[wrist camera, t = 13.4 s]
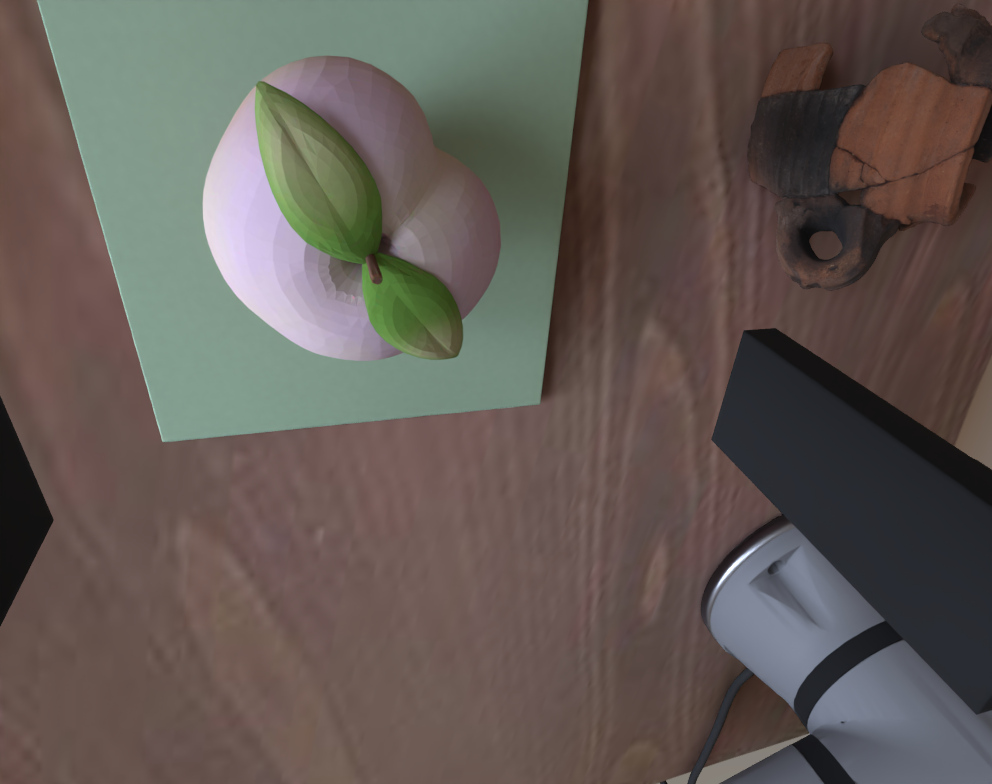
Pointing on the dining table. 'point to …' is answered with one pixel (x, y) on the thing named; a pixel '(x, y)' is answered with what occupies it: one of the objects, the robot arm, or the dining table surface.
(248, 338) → the placemat
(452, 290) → the decorative fruit
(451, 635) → the dining table surface
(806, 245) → the pottery mug
